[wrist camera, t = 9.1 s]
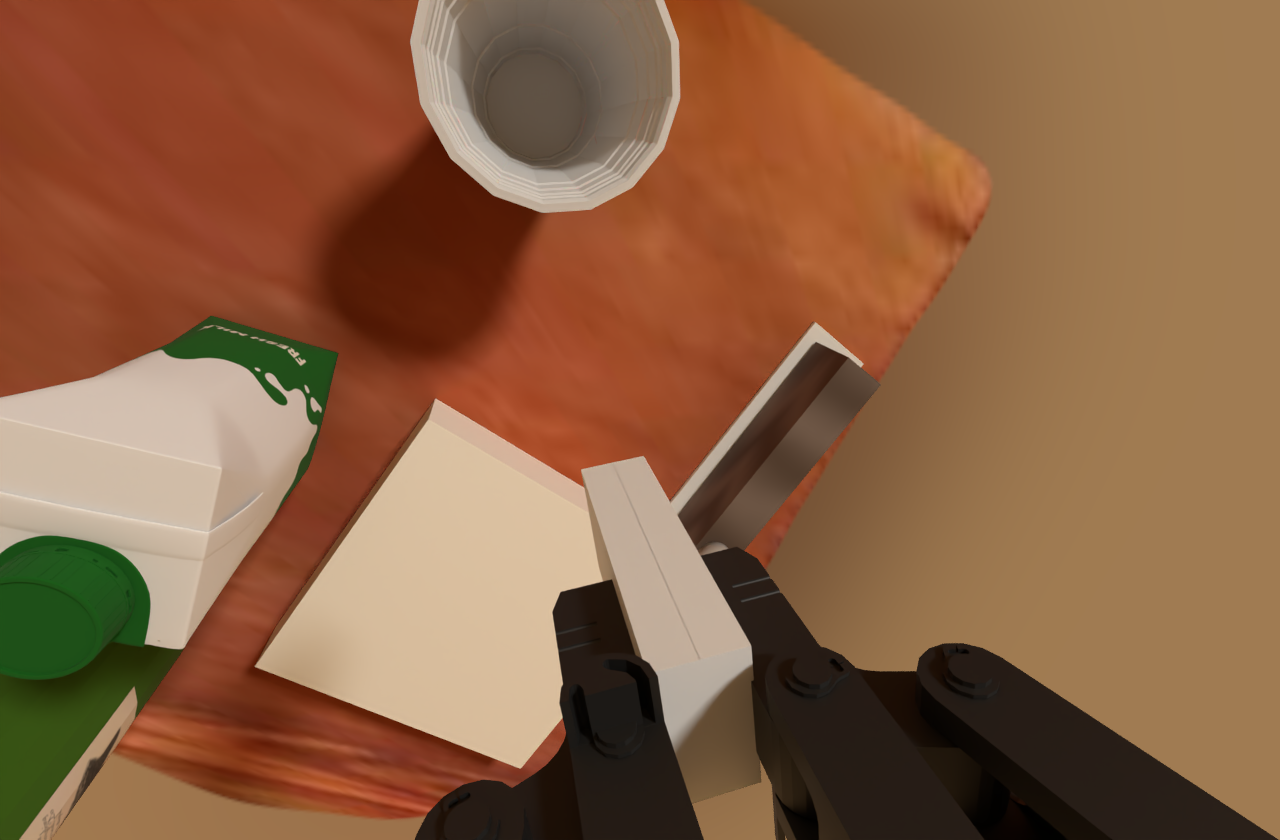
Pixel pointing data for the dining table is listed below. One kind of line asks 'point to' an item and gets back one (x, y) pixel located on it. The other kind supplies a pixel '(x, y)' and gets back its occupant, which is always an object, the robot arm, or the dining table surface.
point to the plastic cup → (549, 93)
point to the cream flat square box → (447, 592)
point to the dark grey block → (777, 450)
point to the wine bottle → (68, 733)
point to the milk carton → (147, 490)
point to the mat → (755, 410)
